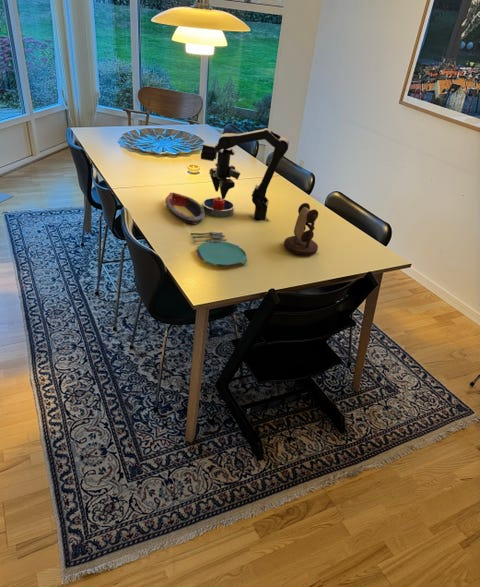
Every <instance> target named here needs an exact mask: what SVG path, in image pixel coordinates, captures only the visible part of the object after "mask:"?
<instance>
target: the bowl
mask: <svg viewBox="0 0 480 587" xmlns="http://www.w3.org/2000/svg"><path fill="white" fill-rule="evenodd" d="M215 198H216V197H209V198H205V199H204V200H203V201H202V205H201V206H202V208H203V209H204V212H205V215H207V216H209V217H213V218H219V219H221V218H229V217H232V216H233V215H234V213H235V203H234V202H232V201H231V200H228V199H226V198H225V199H224V201H225V202H224V210H215V209H213V200H214V199H215Z"/></svg>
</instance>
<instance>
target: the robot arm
mask: <svg viewBox="0 0 480 587" xmlns="http://www.w3.org/2000/svg"><path fill="white" fill-rule="evenodd" d="M262 140H265V141H266V142H267V143H268V144H269V145H270V146H271V147H273V148H274V149H273V152H272V156H271V158H270V161H269V164H268V166H267V168H266V170H265V172H264V174H263V177H262V180H261V181H260V183H259V184H255V186H254V188H253V191H252V193H251V201H252V203H253V205H254V212H253V214H251V217H252V218H253V219H254V221H256V222H265V221H266V222H268V221H269V219H268V218H267V212H268V206H269V202H270V201H269V199H268V198H267V197H266V195H267V190H268V187H269V185H270V183H271V181H272V178H273V176H274V174H275V172H276V170H277V168H278V165H279V163H280V161H281V160H282V159H283V157H284V156H285V155H286V153H287V151H288V150H289V145H290V142H289V139H288V138H287V137H284V136H281V135H279V134H278V133H276V132H274V131H272V130H271V129H270V128H268V127H265V128H263V129H257V130H253V131H247V132H242V133H234V132H231V133H229V132H225V133H223V134H222V135H221V136H220V137H219V138H218V142H217V143H216V144H215V145H212V144H211V145H210V144H206V143H203V145H202V148H201V152H200V160H202V161H209V162H214V161H215V160H216V163H215V167H211V168H210V169H209V172H208V173H209V177H210V178H211V181H212V185H213V187H214V191H215V192H216V193H217V192H219V191H220V197H221V198H222V199H226V198H227V194H228V192H229V191H230V190H231V189H233V188H235V185H236V183H235V182H234V181H233V179H232V178H234V179H235V180H239V178H240V176H241V172H240V171H239V170H237V169H236V167H235V166H234V165H232V164H231V165H230V162H231V156H235V154H236V151H235V150H234V149H233V148H234V147H236V146H238V145H241V144H246V143H252V142H258V141H262Z"/></svg>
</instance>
